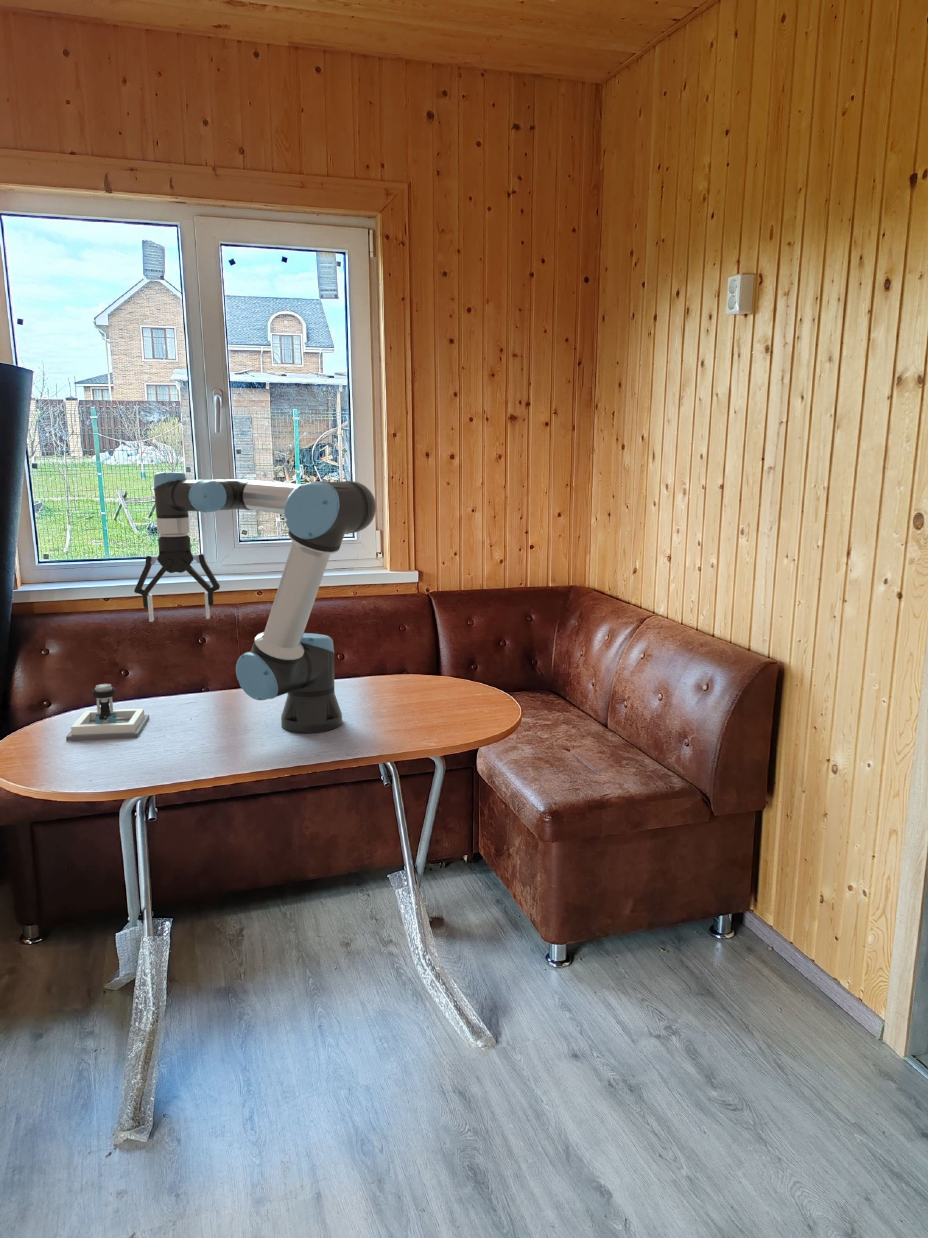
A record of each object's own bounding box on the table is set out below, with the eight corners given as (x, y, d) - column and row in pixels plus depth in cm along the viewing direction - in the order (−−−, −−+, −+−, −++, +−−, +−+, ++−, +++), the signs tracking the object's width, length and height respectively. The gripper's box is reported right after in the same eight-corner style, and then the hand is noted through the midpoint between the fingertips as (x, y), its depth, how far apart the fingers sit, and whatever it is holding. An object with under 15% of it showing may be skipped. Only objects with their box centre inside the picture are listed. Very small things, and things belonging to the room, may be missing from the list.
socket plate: (149, 718, 216) (148, 707, 216) (137, 737, 202) (136, 725, 201) (83, 721, 214) (82, 709, 213) (66, 740, 199) (65, 728, 199)
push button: (124, 720, 211) (121, 681, 209) (123, 727, 206) (120, 687, 204) (95, 722, 209) (92, 683, 207) (93, 729, 204) (90, 689, 202)
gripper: (226, 532, 215) (232, 614, 219) (123, 535, 210) (130, 619, 214) (225, 534, 208) (230, 619, 212) (117, 537, 203) (124, 624, 207)
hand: (180, 619), depth 213 cm, fingers open, 13 cm apart
